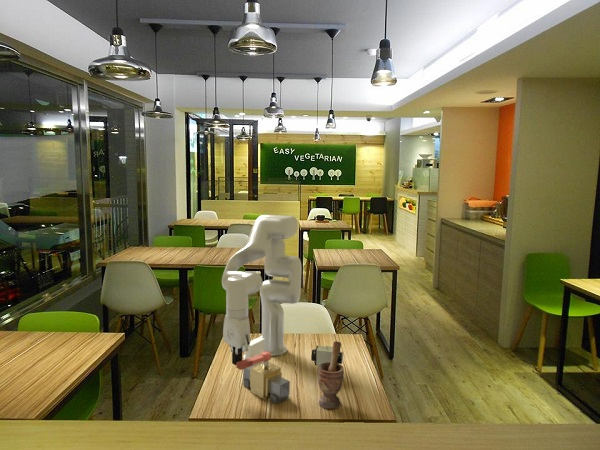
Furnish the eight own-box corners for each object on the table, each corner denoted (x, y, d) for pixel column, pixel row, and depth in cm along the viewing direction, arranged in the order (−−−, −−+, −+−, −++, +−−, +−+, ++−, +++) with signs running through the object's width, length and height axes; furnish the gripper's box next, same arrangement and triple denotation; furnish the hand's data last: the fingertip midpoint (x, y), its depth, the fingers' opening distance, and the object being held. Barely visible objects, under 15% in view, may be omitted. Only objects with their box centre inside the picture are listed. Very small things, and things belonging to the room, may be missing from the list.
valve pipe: (239, 385, 166) (239, 353, 165) (256, 378, 172) (256, 347, 170) (275, 406, 152) (276, 371, 150) (292, 398, 158) (293, 364, 156)
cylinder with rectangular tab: (256, 377, 173) (257, 347, 171) (238, 371, 177) (238, 342, 176) (270, 369, 180) (271, 340, 179) (252, 363, 185) (252, 335, 183)
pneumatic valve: (341, 380, 172) (342, 349, 170) (310, 376, 174) (311, 346, 173) (342, 373, 177) (343, 344, 176) (313, 370, 180) (313, 341, 178)
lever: (266, 355, 163) (266, 350, 163) (273, 358, 160) (273, 353, 160) (235, 367, 153) (235, 361, 153) (241, 370, 151) (241, 364, 150)
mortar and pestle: (317, 392, 162) (318, 338, 159) (341, 393, 162) (343, 339, 159) (317, 409, 150) (318, 352, 148) (343, 410, 150) (345, 353, 148)
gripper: (215, 309, 158) (215, 360, 160) (242, 320, 147) (241, 373, 150) (232, 305, 163) (232, 354, 165) (259, 315, 153) (259, 367, 155)
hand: (237, 363), depth 158 cm, fingers closed
